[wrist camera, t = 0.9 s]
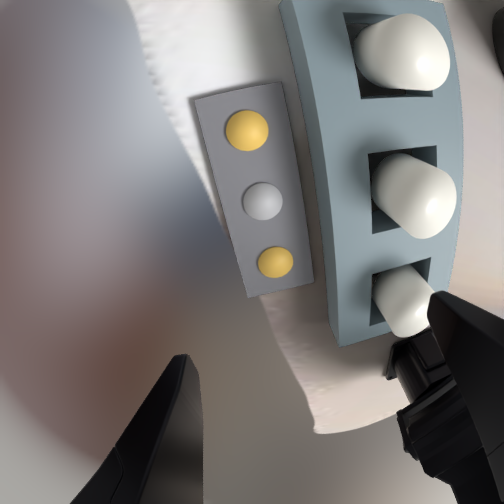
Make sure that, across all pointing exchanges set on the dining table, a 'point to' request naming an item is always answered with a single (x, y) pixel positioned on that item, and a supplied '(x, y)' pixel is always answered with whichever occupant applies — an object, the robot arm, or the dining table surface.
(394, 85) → the button
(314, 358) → the dining table surface
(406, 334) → the button
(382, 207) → the button mid
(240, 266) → the card
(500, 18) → the mug
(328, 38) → the button board
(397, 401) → the dining table surface
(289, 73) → the dining table surface
